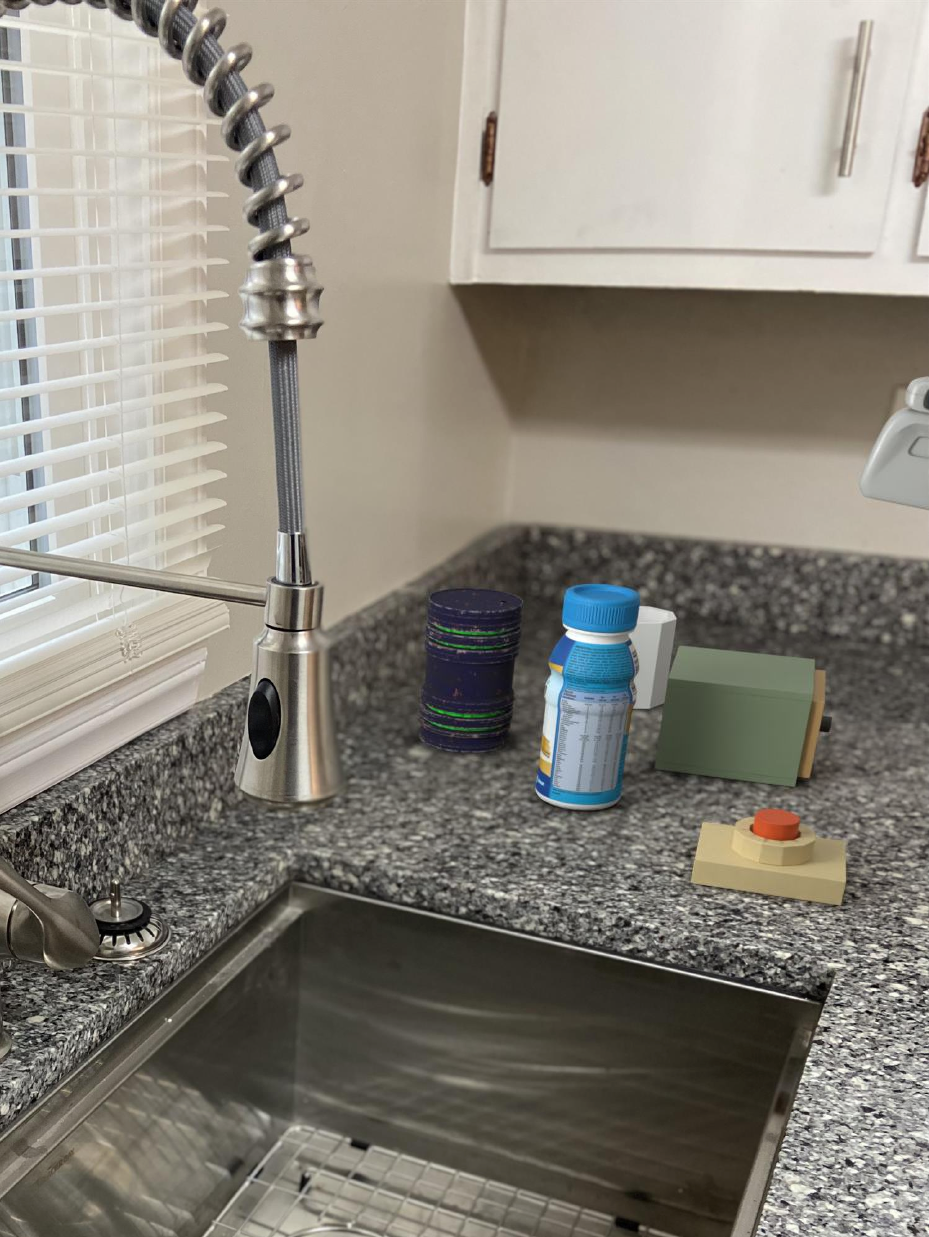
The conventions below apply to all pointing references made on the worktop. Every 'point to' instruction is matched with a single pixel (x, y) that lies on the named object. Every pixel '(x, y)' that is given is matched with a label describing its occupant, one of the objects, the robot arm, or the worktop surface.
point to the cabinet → (736, 715)
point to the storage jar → (469, 669)
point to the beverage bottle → (589, 699)
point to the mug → (653, 654)
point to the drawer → (814, 725)
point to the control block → (771, 863)
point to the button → (776, 825)
